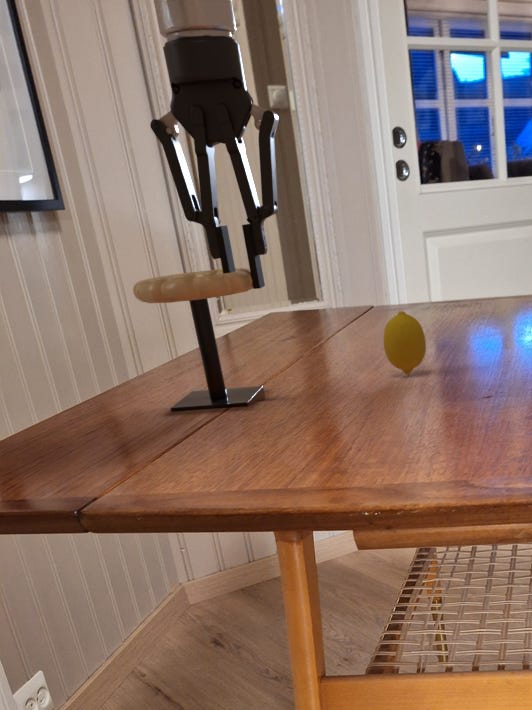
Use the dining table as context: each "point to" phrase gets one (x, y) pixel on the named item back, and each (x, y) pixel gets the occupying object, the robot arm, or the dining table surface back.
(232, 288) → the lying ring
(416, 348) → the lemon
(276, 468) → the dining table surface
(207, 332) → the black peg stand
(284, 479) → the dining table surface
